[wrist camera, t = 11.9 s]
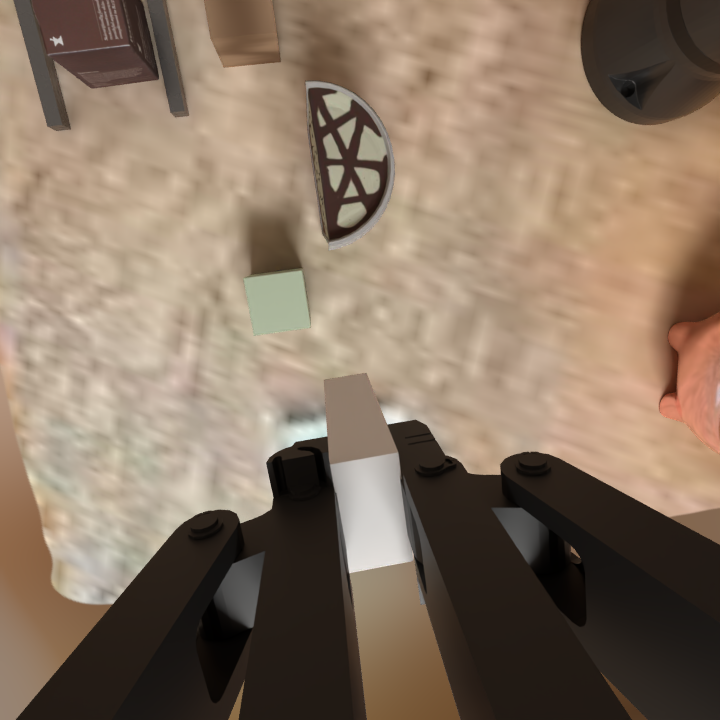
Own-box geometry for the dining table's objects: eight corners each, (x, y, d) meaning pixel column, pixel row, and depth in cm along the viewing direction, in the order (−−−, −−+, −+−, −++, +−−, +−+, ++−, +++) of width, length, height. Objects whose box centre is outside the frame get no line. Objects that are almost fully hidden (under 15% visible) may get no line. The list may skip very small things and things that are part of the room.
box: (161, 82, 41) (131, 47, 34) (90, 90, 41) (45, 57, 34) (143, 2, 40) (108, -51, 33) (70, 10, 40) (18, -42, 32)
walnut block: (271, -3, 41) (265, -44, 35) (280, 62, 42) (276, 32, 36) (212, 2, 41) (197, -39, 35) (224, 67, 42) (210, 38, 36)
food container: (386, 241, 47) (408, 240, 37) (324, 250, 46) (329, 250, 36) (371, 105, 44) (389, 64, 34) (304, 112, 43) (304, 73, 34)
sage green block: (302, 267, 46) (302, 270, 41) (310, 318, 48) (310, 327, 42) (251, 274, 46) (243, 278, 40) (260, 325, 47) (254, 335, 41)
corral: (156, -45, 39) (150, -56, 38) (188, 115, 42) (184, 111, 41) (13, -32, 38) (2, -43, 37) (56, 130, 41) (47, 126, 40)
